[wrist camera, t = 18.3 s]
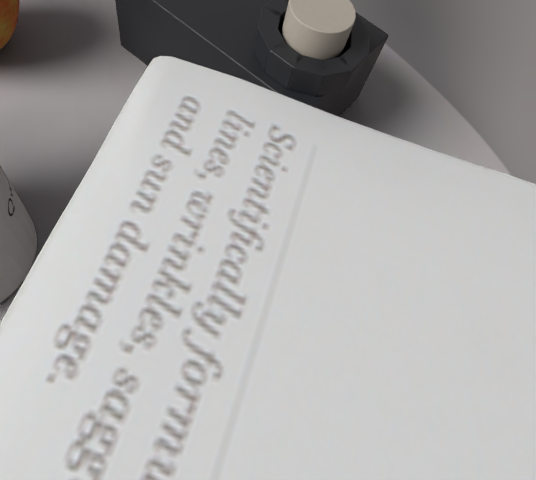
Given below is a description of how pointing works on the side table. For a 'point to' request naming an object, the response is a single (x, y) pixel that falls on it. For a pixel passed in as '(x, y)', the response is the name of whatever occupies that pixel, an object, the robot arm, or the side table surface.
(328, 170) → the cosmetic box
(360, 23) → the dark gray box
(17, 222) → the mug
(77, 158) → the side table surface
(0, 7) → the apple
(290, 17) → the beige push button
